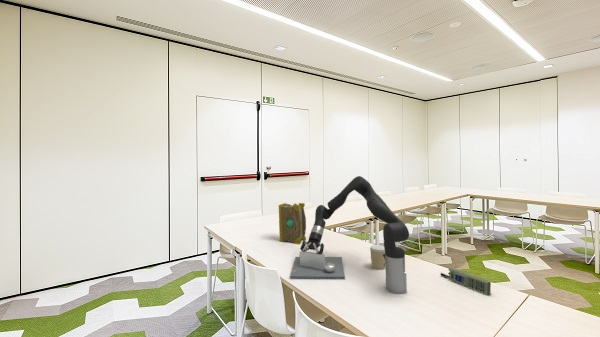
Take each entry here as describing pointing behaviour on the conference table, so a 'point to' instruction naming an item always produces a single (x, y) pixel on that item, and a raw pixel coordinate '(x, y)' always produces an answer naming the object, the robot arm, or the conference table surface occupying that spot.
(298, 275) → the dial plate
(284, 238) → the decorative book
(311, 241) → the robot arm
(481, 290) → the handheld radio
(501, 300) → the conference table surface
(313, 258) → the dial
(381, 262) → the coffee cup
